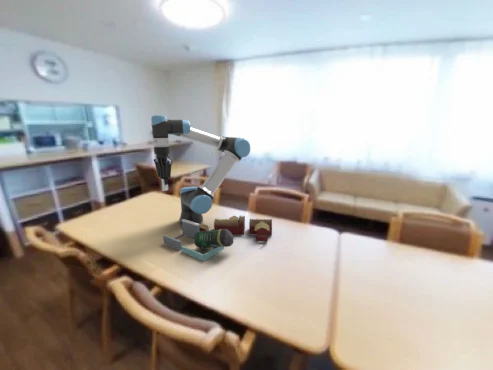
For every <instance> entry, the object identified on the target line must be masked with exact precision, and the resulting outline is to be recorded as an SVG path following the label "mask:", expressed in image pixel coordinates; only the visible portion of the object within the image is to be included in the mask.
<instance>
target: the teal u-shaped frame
mask: <svg viewBox="0 0 493 370" xmlns="http://www.w3.org/2000/svg"><path fill="white" fill-rule="evenodd" d="M181 248H182V250H181V253H183V254H186V255H188V256H191V257H193V258H195V259H197V260H199V261H202V262H205V261H207V260H209V259H210V258H211V257H213V256H215V255H216V254H218V253H220V252H221V251H222V250H224V249H225V247H213V248H211V249H210V250H209V251H207V252H205V253H201V252H199V251H197V250H193V249H191V248H188V247H186V246H184V245H181Z"/></svg>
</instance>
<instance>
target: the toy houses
mask: <svg viewBox="0 0 493 370" xmlns="http://www.w3.org/2000/svg"><path fill="white" fill-rule="evenodd" d="M248 225H249V226H248V227H249V231H248V232H249V234H248V235H251V236H253V235H254V236H256V242H268V240H269V236H272V235H273V218H249V223H248ZM199 228H200V231H210V228H211V226H209V225H208V224H205V223H203V222H202V223H200V224H199ZM220 229H227V230H229V231H230V232H231V233H232V235H233V236H240V235H241V236H242V235H245V230H246V216H245V215H239V216H236V215H233V216H230V217H229V218H214V222H213V230H220Z"/></svg>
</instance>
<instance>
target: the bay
mask: <svg viewBox="0 0 493 370" xmlns="http://www.w3.org/2000/svg"><path fill="white" fill-rule="evenodd" d="M199 225H200V224H198V223H195V222H192V221H189V220H185V219H182V224H181V227H182V233H181V234H179V235H177V236H175V237H172V236H169V235H166V234H163V235H162V239H163V244H164V245H165V246H167V247H169V248H172V249H174V250H176V251H178V252H182V248H181V247H182V241H181V240H180V239H178V238H181V237H183V236H185V237H188V238H190V239H193V240H194V236H195V234H196V232H199V231H200V228H199Z"/></svg>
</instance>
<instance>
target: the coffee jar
mask: <svg viewBox="0 0 493 370" xmlns="http://www.w3.org/2000/svg"><path fill="white" fill-rule="evenodd" d="M234 236H235V235H232V233H231V232H230V231H229V230H227V229H220V230H214V229H213V230H209V231H199V232H196V234H195V236H194V239H193V243H194V245H195V246H196V247H197V248H198V249H201V250H202V249H214V248H215V247H224V248H226V247H231V246H233V244H234Z"/></svg>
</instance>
